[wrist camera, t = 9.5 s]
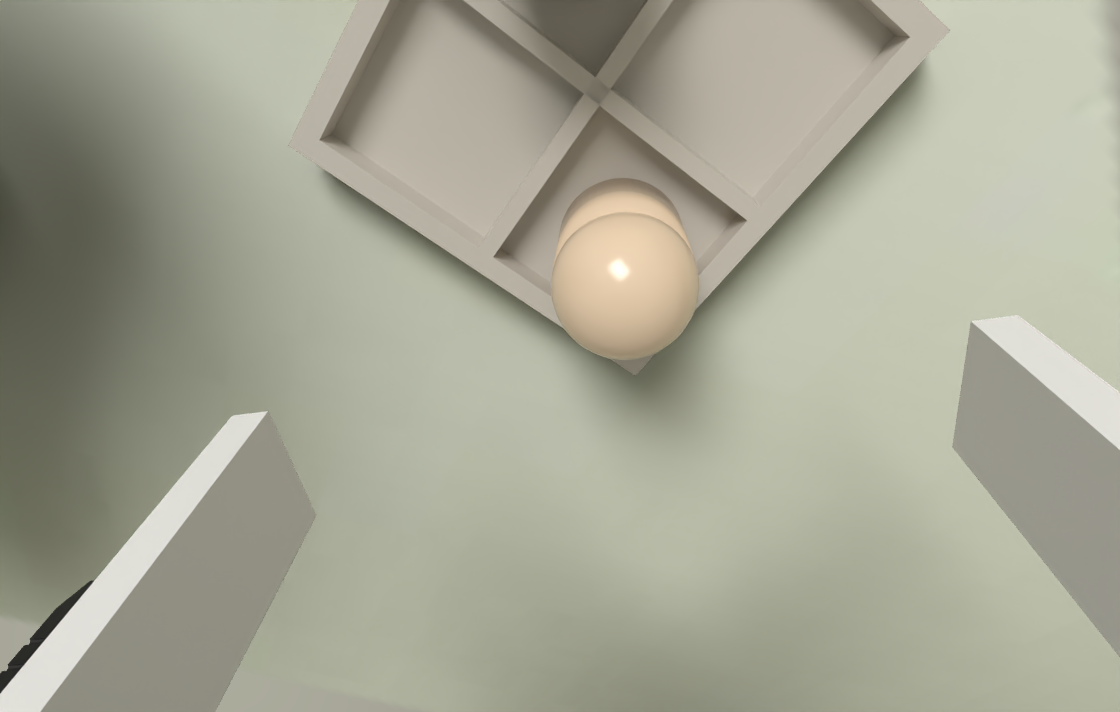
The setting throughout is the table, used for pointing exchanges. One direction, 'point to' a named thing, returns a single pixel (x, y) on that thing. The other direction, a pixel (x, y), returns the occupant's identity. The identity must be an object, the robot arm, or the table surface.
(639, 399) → the table surface
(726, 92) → the divided tray
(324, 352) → the table surface
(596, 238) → the egg
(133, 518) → the table surface
